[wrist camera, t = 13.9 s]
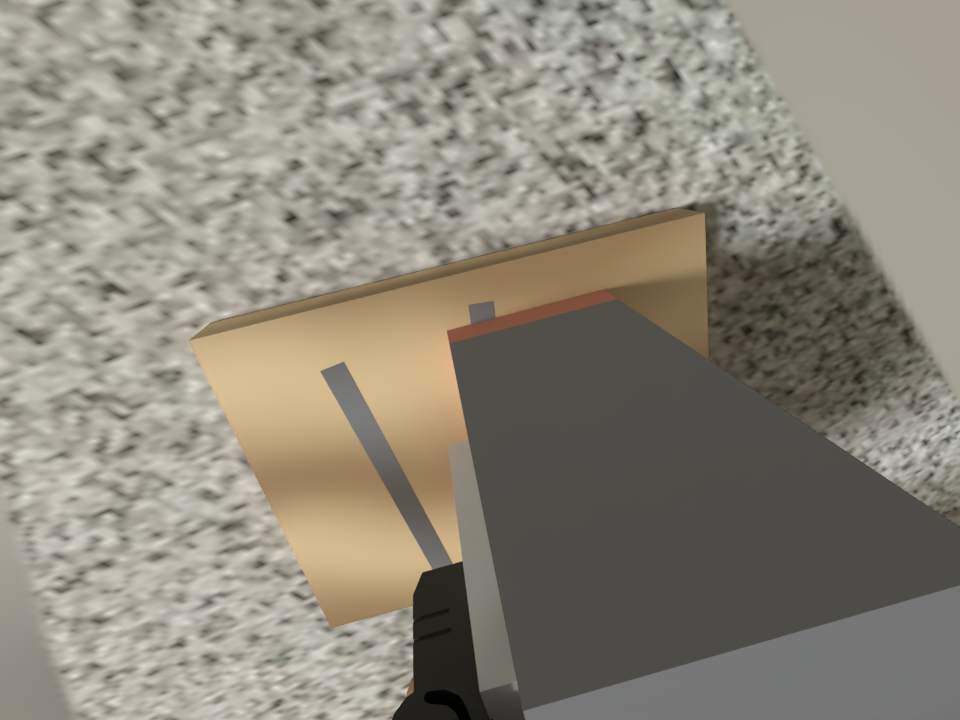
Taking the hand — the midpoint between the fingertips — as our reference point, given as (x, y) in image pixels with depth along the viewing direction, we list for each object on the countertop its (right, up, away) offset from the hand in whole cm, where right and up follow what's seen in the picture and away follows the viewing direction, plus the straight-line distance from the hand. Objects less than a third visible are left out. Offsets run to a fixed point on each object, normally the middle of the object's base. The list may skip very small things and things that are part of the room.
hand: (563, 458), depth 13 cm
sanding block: (0, +1, +1) cm, 2 cm away
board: (-2, +1, +3) cm, 4 cm away
